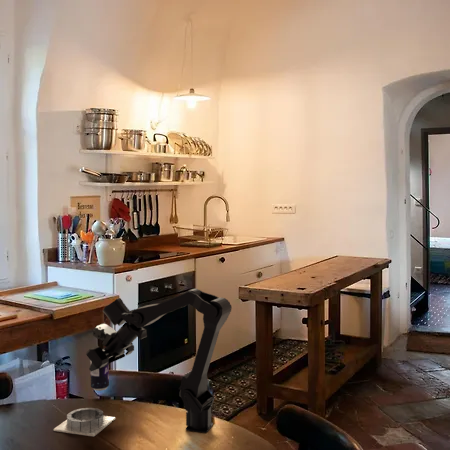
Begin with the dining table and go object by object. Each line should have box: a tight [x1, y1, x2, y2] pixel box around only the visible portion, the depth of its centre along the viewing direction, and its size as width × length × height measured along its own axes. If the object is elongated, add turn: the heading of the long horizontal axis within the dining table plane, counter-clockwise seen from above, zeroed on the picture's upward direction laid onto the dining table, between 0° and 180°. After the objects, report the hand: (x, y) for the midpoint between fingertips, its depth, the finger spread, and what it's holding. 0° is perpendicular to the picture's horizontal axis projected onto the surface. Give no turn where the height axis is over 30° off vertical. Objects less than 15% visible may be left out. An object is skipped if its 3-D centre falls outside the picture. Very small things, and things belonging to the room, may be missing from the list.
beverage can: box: [89, 348, 110, 392], centre depth 185 cm, size 6×6×12 cm
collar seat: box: [53, 407, 116, 437], centre depth 173 cm, size 13×13×3 cm
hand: (96, 367), depth 185 cm, fingers closed on beverage can, 6 cm apart
